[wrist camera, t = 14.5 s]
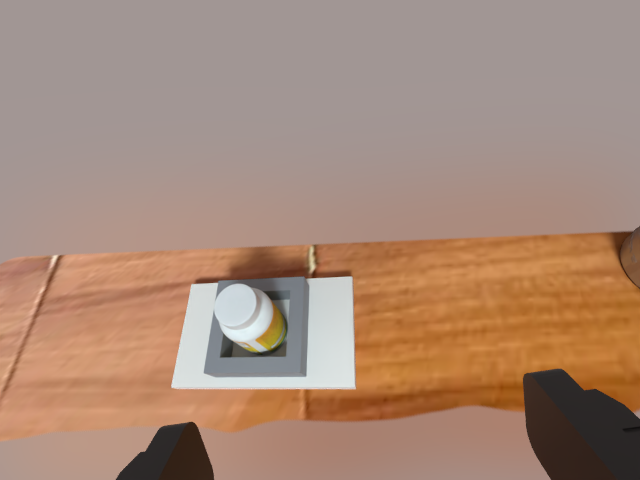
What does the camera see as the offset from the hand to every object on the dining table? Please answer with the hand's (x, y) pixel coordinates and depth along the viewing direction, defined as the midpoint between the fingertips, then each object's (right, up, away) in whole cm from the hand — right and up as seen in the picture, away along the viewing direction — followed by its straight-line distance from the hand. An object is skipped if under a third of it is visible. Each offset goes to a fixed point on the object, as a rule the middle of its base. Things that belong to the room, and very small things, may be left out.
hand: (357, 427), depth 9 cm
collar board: (-7, -6, +33) cm, 34 cm away
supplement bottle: (-7, -6, +32) cm, 33 cm away
